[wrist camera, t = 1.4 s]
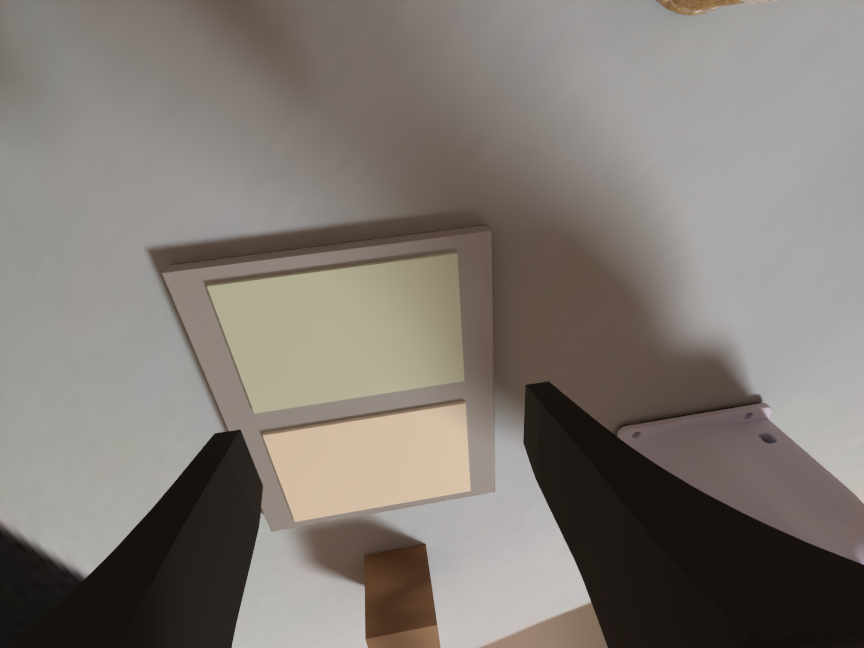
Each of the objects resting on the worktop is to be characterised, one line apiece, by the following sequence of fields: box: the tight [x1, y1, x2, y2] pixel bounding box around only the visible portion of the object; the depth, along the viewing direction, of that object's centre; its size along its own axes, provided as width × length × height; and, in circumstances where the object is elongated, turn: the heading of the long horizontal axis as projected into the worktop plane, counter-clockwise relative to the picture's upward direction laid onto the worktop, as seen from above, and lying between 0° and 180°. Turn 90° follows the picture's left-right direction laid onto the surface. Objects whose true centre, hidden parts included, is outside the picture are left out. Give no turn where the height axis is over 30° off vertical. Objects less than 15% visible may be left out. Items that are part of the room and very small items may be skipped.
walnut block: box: [365, 544, 440, 648], centre depth 28 cm, size 4×4×5 cm
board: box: [162, 225, 495, 531], centre depth 22 cm, size 13×16×1 cm
